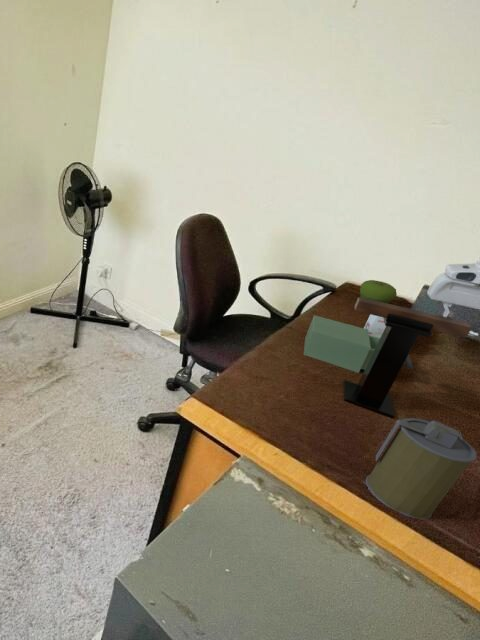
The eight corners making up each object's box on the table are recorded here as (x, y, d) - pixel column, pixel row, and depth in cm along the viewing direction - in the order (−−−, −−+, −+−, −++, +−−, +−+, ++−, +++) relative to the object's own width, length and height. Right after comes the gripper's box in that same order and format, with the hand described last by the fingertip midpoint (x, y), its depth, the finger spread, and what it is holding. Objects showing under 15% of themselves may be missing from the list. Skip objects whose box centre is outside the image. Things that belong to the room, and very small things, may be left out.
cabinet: (356, 354, 134) (368, 329, 130) (358, 373, 125) (370, 347, 121) (304, 338, 141) (314, 315, 138) (303, 356, 132) (312, 331, 129)
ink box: (390, 347, 137) (406, 317, 133) (395, 354, 133) (412, 324, 129) (357, 338, 141) (372, 309, 136) (361, 346, 137) (376, 316, 133)
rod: (462, 332, 99) (469, 322, 98) (465, 338, 97) (472, 327, 96) (354, 306, 111) (358, 296, 110) (354, 310, 109) (359, 300, 107)
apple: (371, 310, 159) (383, 288, 155) (346, 297, 169) (356, 276, 165) (396, 310, 160) (408, 288, 156) (370, 296, 170) (381, 275, 166)
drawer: (401, 366, 127) (412, 345, 124) (406, 385, 119) (418, 363, 116) (332, 345, 136) (341, 325, 133) (332, 362, 128) (342, 341, 125)
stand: (389, 398, 115) (433, 314, 104) (393, 419, 108) (441, 331, 97) (342, 383, 121) (380, 302, 110) (343, 401, 114) (384, 317, 103)
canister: (429, 495, 88) (479, 427, 80) (435, 532, 81) (490, 461, 72) (362, 465, 94) (402, 399, 86) (362, 496, 87) (406, 428, 79)
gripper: (558, 283, 101) (528, 331, 106) (438, 263, 113) (417, 306, 118) (568, 293, 96) (537, 342, 102) (443, 270, 108) (421, 315, 114)
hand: (472, 322), depth 110 cm, fingers open, 8 cm apart
